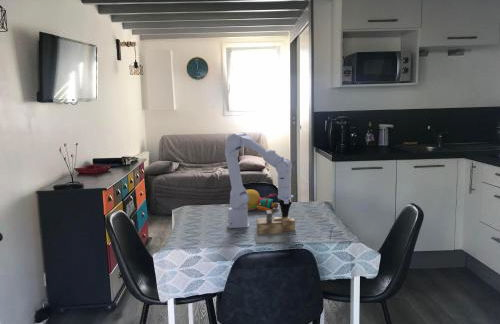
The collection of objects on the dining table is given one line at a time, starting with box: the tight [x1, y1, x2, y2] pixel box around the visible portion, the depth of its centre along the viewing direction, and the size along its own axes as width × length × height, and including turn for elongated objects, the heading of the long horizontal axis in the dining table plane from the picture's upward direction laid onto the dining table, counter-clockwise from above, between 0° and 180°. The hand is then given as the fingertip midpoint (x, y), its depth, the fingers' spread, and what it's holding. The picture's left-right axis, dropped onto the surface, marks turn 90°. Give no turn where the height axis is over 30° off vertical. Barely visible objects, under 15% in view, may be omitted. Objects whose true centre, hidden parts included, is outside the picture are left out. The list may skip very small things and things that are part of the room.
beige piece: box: [273, 214, 291, 221], centre depth 202 cm, size 7×3×4 cm, turn 92°
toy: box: [246, 188, 279, 212], centre depth 242 cm, size 19×11×25 cm
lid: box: [256, 210, 282, 225], centre depth 201 cm, size 11×9×6 cm
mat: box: [254, 232, 291, 245], centre depth 190 cm, size 14×12×1 cm
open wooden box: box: [256, 217, 296, 234], centre depth 202 cm, size 17×9×5 cm, turn 92°
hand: (284, 215), depth 202 cm, fingers closed on beige piece, 3 cm apart
